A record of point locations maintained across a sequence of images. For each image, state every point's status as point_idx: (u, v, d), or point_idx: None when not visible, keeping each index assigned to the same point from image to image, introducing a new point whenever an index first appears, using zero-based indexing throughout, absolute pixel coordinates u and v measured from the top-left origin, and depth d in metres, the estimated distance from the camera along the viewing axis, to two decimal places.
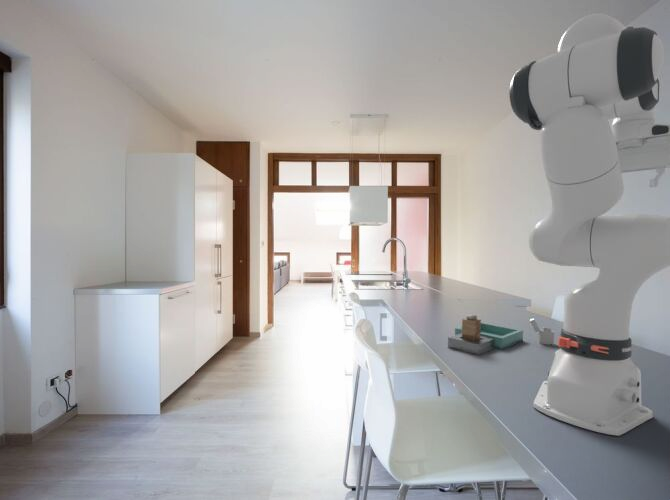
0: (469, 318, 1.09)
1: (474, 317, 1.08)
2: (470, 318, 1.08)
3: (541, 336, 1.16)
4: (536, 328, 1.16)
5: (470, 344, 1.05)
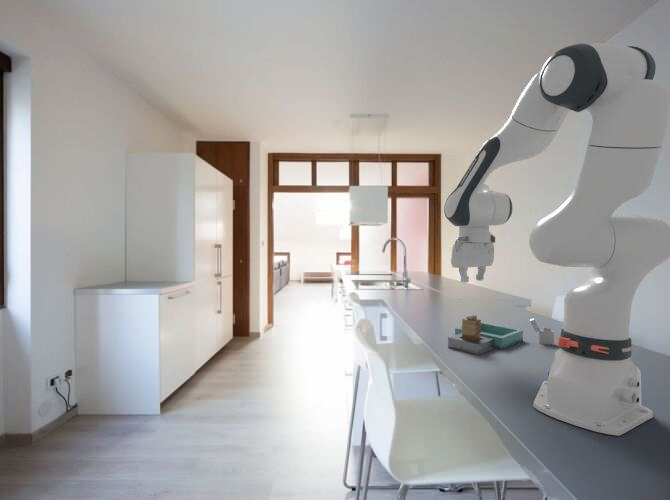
0: (469, 318, 1.09)
1: (474, 317, 1.08)
2: (470, 318, 1.08)
3: (541, 336, 1.16)
4: (536, 328, 1.16)
5: (470, 344, 1.05)
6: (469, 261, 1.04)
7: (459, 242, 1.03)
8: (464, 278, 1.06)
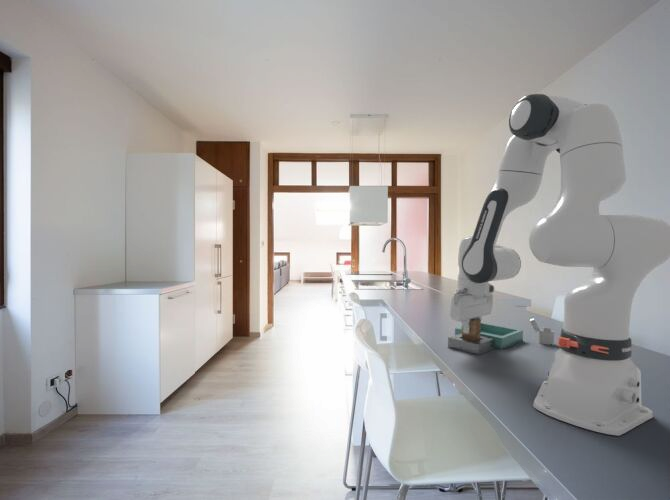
0: None
1: None
2: None
3: (541, 336, 1.16)
4: (536, 328, 1.16)
5: (470, 344, 1.05)
6: (468, 314, 1.04)
7: (458, 295, 1.03)
8: (466, 329, 1.07)
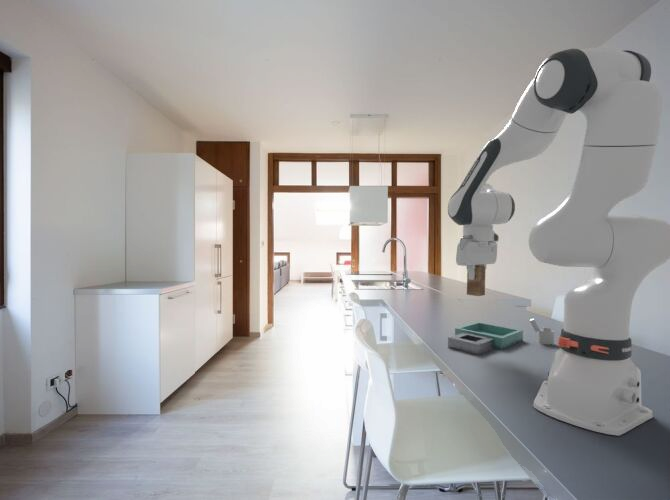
0: None
1: None
2: (475, 265, 1.11)
3: (541, 336, 1.16)
4: (536, 328, 1.16)
5: (470, 344, 1.05)
6: (473, 259, 1.07)
7: (464, 241, 1.05)
8: (472, 275, 1.09)
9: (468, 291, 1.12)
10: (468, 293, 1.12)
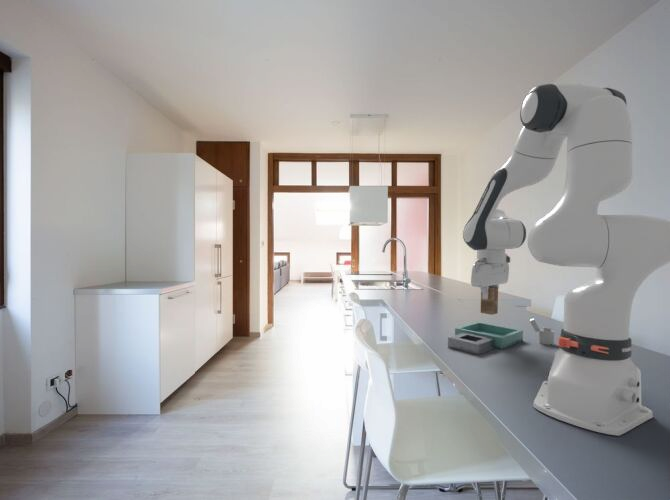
0: None
1: None
2: None
3: (541, 336, 1.16)
4: (536, 328, 1.16)
5: (470, 344, 1.05)
6: (487, 281, 1.14)
7: (478, 264, 1.13)
8: (485, 295, 1.17)
9: (482, 309, 1.19)
10: (482, 311, 1.19)
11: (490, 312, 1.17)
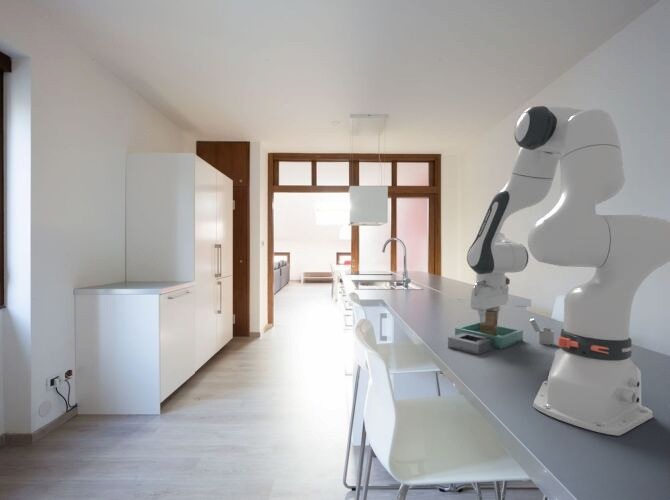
0: (487, 310, 1.18)
1: (492, 309, 1.18)
2: (488, 310, 1.18)
3: (541, 336, 1.16)
4: (536, 328, 1.16)
5: (470, 344, 1.05)
6: (487, 304, 1.14)
7: (478, 287, 1.13)
8: (483, 318, 1.16)
9: None
10: None
11: None
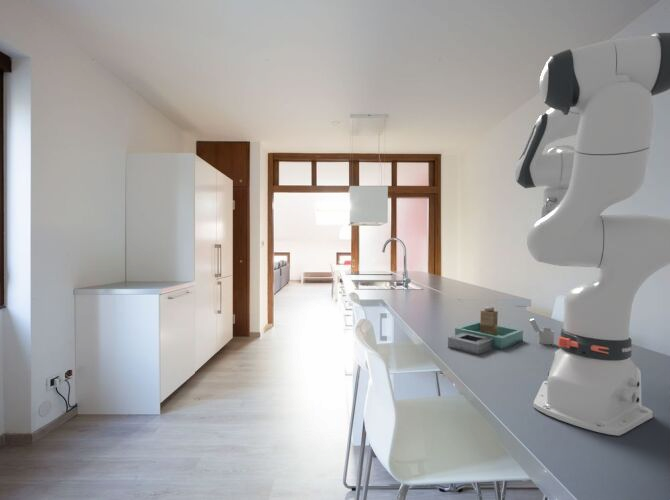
0: (487, 310, 1.18)
1: (492, 309, 1.18)
2: (488, 310, 1.18)
3: (541, 336, 1.16)
4: (536, 328, 1.16)
5: (470, 344, 1.05)
6: None
7: (550, 202, 1.03)
8: None
9: None
10: None
11: None
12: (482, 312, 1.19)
